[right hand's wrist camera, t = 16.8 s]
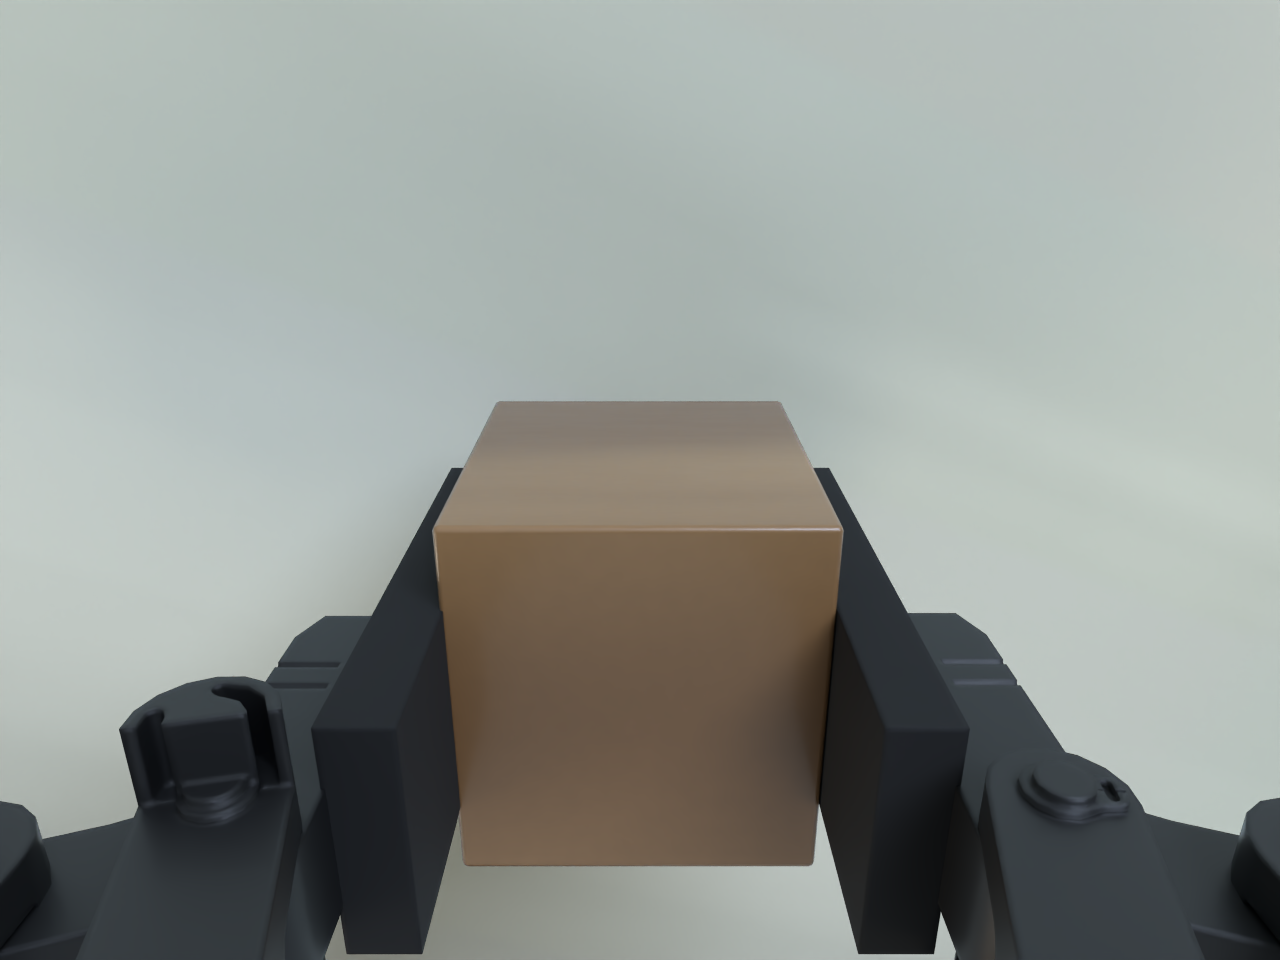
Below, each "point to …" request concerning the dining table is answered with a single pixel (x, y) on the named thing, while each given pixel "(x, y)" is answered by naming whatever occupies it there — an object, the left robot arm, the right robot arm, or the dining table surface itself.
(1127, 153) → the dining table surface
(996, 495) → the dining table surface
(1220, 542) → the dining table surface
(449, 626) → the block
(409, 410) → the dining table surface
